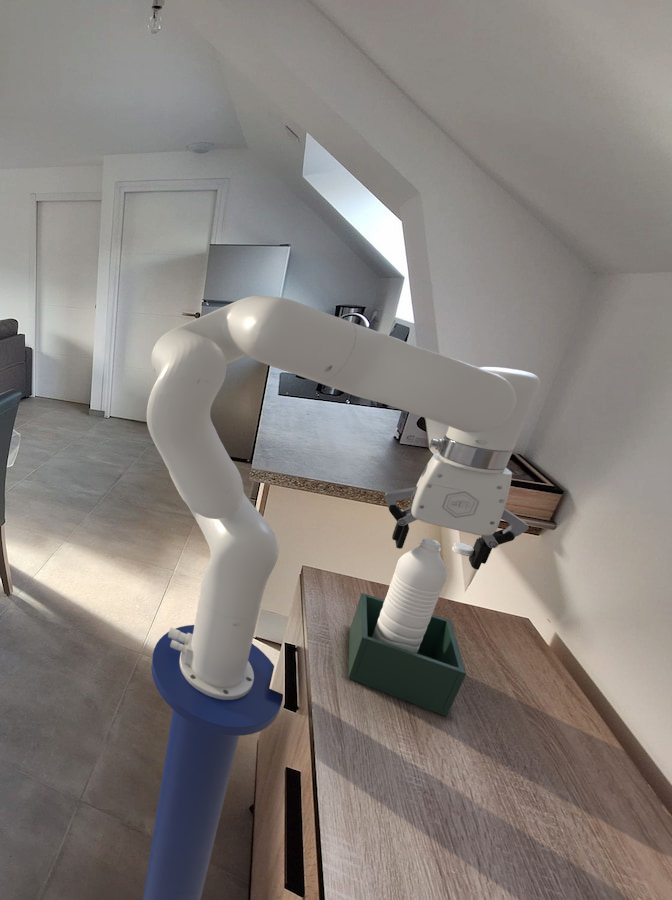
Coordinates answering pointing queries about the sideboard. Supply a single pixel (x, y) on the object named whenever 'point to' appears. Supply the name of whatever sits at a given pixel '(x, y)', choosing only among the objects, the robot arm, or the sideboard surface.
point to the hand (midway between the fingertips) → (434, 554)
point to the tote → (406, 660)
